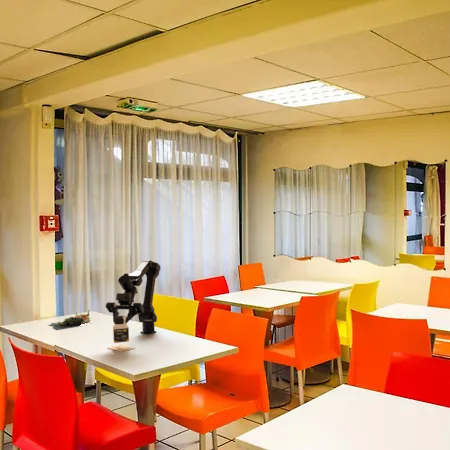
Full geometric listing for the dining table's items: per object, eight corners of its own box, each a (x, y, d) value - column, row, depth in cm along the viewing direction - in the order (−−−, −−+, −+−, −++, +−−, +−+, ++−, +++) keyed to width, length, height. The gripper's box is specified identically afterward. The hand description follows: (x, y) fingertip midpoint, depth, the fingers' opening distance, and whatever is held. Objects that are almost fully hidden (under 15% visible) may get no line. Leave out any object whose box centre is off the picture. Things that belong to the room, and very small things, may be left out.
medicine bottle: (114, 343, 250) (113, 318, 249) (113, 339, 256) (112, 315, 256) (129, 341, 251) (128, 317, 251) (128, 338, 258) (127, 314, 258)
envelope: (107, 348, 255) (107, 347, 255) (121, 345, 261) (121, 344, 261) (121, 352, 248) (121, 351, 248) (135, 348, 254) (135, 347, 254)
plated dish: (90, 317, 338) (90, 305, 338) (110, 324, 316) (110, 312, 316) (36, 326, 316) (36, 314, 316) (54, 334, 294) (53, 321, 294)
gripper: (106, 286, 260) (96, 312, 250) (141, 286, 255) (132, 313, 245) (114, 298, 268) (104, 325, 257) (147, 299, 263) (139, 326, 253)
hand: (119, 322), depth 253 cm, fingers closed on medicine bottle, 6 cm apart
